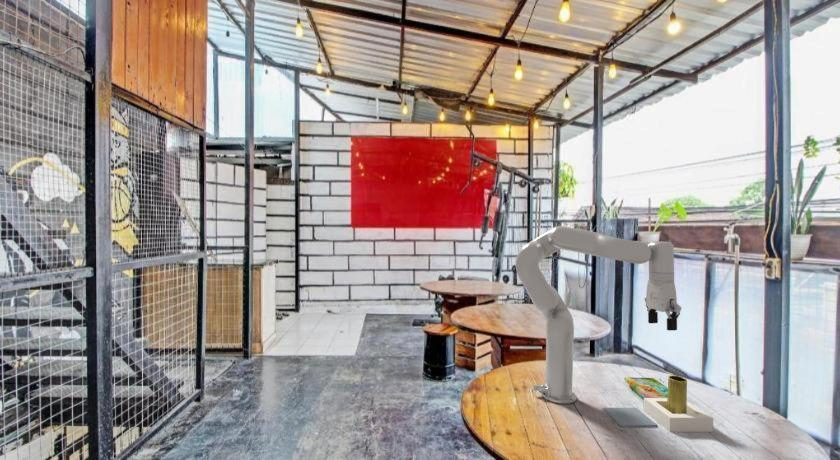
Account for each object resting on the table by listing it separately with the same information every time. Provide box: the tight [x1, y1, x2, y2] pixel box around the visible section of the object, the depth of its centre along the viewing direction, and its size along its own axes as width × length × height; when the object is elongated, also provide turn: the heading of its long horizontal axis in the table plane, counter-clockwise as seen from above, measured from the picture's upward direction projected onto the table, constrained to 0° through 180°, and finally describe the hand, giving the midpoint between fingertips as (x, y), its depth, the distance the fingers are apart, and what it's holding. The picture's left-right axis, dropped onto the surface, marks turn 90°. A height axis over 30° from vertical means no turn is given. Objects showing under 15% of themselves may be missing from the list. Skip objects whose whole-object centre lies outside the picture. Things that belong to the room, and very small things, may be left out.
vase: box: [666, 375, 688, 414], centre depth 132 cm, size 6×6×14 cm
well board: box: [643, 398, 714, 433], centre depth 132 cm, size 14×14×4 cm
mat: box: [602, 407, 658, 428], centre depth 134 cm, size 12×12×1 cm
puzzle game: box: [623, 376, 668, 401], centre depth 151 cm, size 12×5×20 cm
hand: (662, 326), depth 137 cm, fingers open, 9 cm apart
